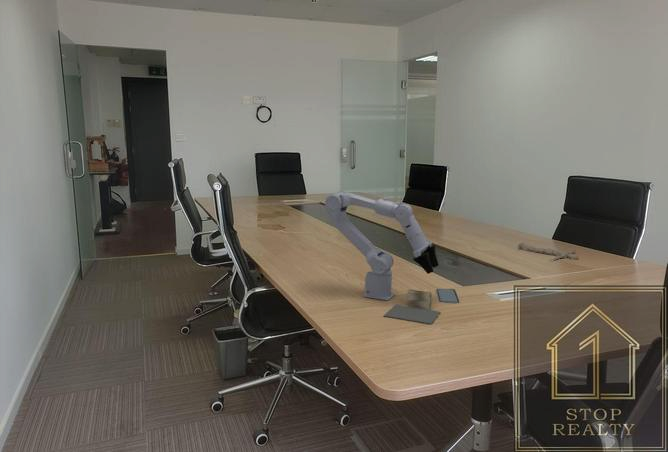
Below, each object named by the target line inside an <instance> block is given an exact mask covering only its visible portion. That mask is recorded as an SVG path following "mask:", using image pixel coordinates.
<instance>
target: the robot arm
mask: <svg viewBox="0 0 668 452" xmlns="http://www.w3.org/2000/svg"><path fill="white" fill-rule="evenodd" d="M349 206H359V207H363V208H366V209H371V210H373V211H374V212H375V214H376V215H380V216H383V217H387V218H391V219H394V220H395V221H396V222H398V223H399V224H400V226H401V228H402V230H403V232H404V234H405V236H406V238H407V240H408V243H409V244H410V245H411V247H412V249H413V253H412V254H413V255H414V257H413V258H412V259H413V262H415V263H417V264H418V265H419V266H420V267H421V268H422V269H423V270H424V272H426V274H427V275H430V274H431V273H433V272H434V268H437V267H439V266H440V265H439V261H438V258H437V254H436V245H435V244H433V242H432V241H429V240H428V239H427V238H426V236H425V234H424V231H423V230H422V228H421V226H420V224H419V222H418V220H417V219H416V217H415V215H414V211H413V208H412V207H411V205H410V204H407V203H401V202H400V201H396V202H394V201H391V200H388V198H387V197H383V198H379V199H377V200H374V199H371V198H369V197H365V196H362V195H359V194H356V193H352V192H348V191H347V192H345V191H342V190H340V191H337V192H334V193H329V194H328V195H327V196H326V198H325V203H324V208H325V210H326V211H327V213H328V217H329V220H330V223H331V224H332V226H334V227H335V228H336V229H337V231H339V233H340V234H342V235H343V236H344V237H345V238H346V239H347V240H348V241H349V242H350V243H351V244H352V245H353V246H354V248H356V249H357V250H358V251H359V252H360V253H361V254H362V255H363V256H364V257H365V259H366V264H368V265H369V266H370V269H371V271H368V272H367V273H366V275H365V277H364V278H365V280H364V296H363V297H365V298H369V299H375V300H376V299H377V300H382V301H383V300H384V301H389V300H390V299H392V298H393V297H394V296H395V292H392V283H393V282H392V281H393V276H392V275H393V271H392V270H391V268H392V266H394V257H393V256H392V254H390V253H388V252H385V251H384V250H383V249H381V248H379V247H377V246H375V245H374V244H373V243H372V242H371V241H370V240H369V239H368V238H367V237H366V235H364V234H363V232H361V231H360V229H358V228H357V227H356V226H355V225H354V224H353V223H352V222H351V221H350V220H349V219H348V218H347V209H348V208H349ZM432 244H433V245H432Z"/></svg>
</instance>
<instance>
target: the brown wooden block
mask: <svg viewBox="0 0 668 452" xmlns="http://www.w3.org/2000/svg"><path fill="white" fill-rule="evenodd" d="M406 295H407V297H406V299H407V300H406V303H407V304H406V306H407V307H414V308H420V309H426V310H432V309H431V308H432V292H430V291H423V290H415V289H411V288H410V289H408V290H407V294H406Z"/></svg>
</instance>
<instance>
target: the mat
mask: <svg viewBox="0 0 668 452" xmlns="http://www.w3.org/2000/svg"><path fill="white" fill-rule="evenodd" d="M441 313H442V312H441V311H438V310H432V309H430V310H426V309H420V308H414V307H407V305H400V304H395V305H393V306H391V308H390V309H389V310H388V311H387V312H385V314H384V315H383V317H384V318H390V319H395V320H401V321H406V320H407V322H412V321H413V323H417V324H418V323H419V324H424V323H425V324H424V325H430V324H432V325H433V323H434V322H435V321H436V320H435V319H437V318H438V317H439V316H440V314H441ZM438 315H439V316H438ZM434 320H435V321H434Z"/></svg>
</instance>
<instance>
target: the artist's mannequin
mask: <svg viewBox="0 0 668 452" xmlns="http://www.w3.org/2000/svg"><path fill="white" fill-rule="evenodd" d="M523 248H525V249H527V250H528V251H533V252H534V253H541V254H543V253H544V254H546V255H549V256H555V255H556V256H555V257H554V258H552V259H550V260H549V262H551V261H552V260H555V261H557V260H561V259H566V258H565V257H567V258H569V259H571V258H573V259H572V260H574V259H577V260H578V259H579V255H578V254H577V253H575V252H576V249H575V248H574V249H573V250H572V251H571V250H570V251H568V252H567V251H564V250H554V249H553V248H545V247H537V248H536V247H535V246H532V245H529V244H526V243H524V242H521V243H518V245H517V250H523ZM557 256H558V257H557ZM560 258H561V259H560ZM556 259H557V260H556ZM552 262H553V261H552Z"/></svg>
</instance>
